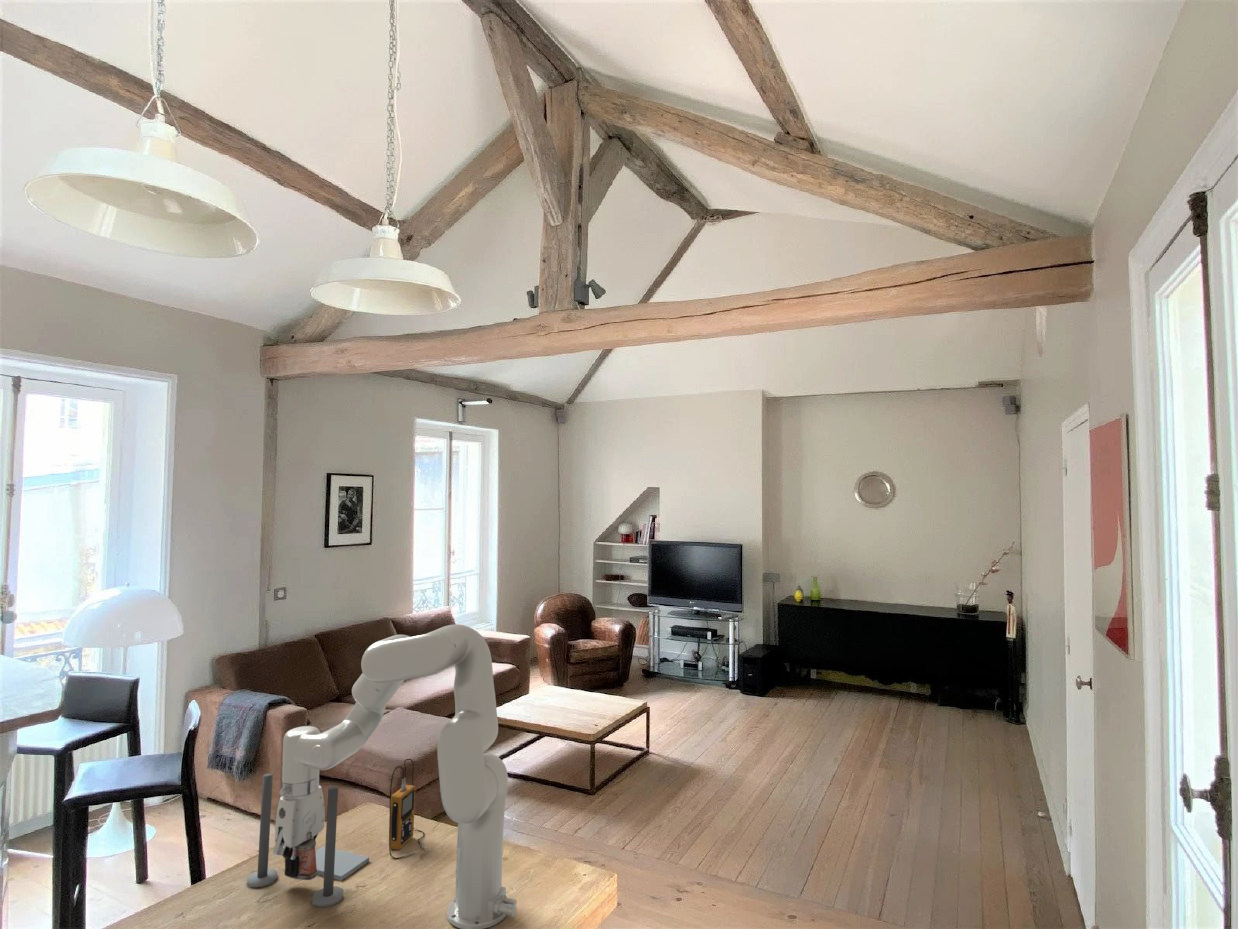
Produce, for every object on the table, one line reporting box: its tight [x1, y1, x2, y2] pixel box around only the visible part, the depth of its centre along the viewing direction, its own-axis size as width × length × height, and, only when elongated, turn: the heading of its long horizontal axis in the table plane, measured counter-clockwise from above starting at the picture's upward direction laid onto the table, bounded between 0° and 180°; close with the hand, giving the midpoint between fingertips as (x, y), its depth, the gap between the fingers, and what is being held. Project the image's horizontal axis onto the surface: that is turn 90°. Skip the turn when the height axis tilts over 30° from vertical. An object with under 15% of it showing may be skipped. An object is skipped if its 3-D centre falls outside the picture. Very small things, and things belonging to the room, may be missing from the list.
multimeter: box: [388, 758, 428, 860], centre depth 166 cm, size 15×10×20 cm
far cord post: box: [246, 773, 278, 888], centre depth 149 cm, size 6×6×23 cm
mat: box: [315, 845, 370, 882], centre depth 155 cm, size 14×9×1 cm, turn 70°
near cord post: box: [312, 786, 344, 908], centre depth 142 cm, size 6×6×23 cm
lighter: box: [283, 831, 319, 881], centre depth 146 cm, size 8×3×10 cm, turn 73°
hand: (297, 871), depth 145 cm, fingers closed on lighter, 2 cm apart
